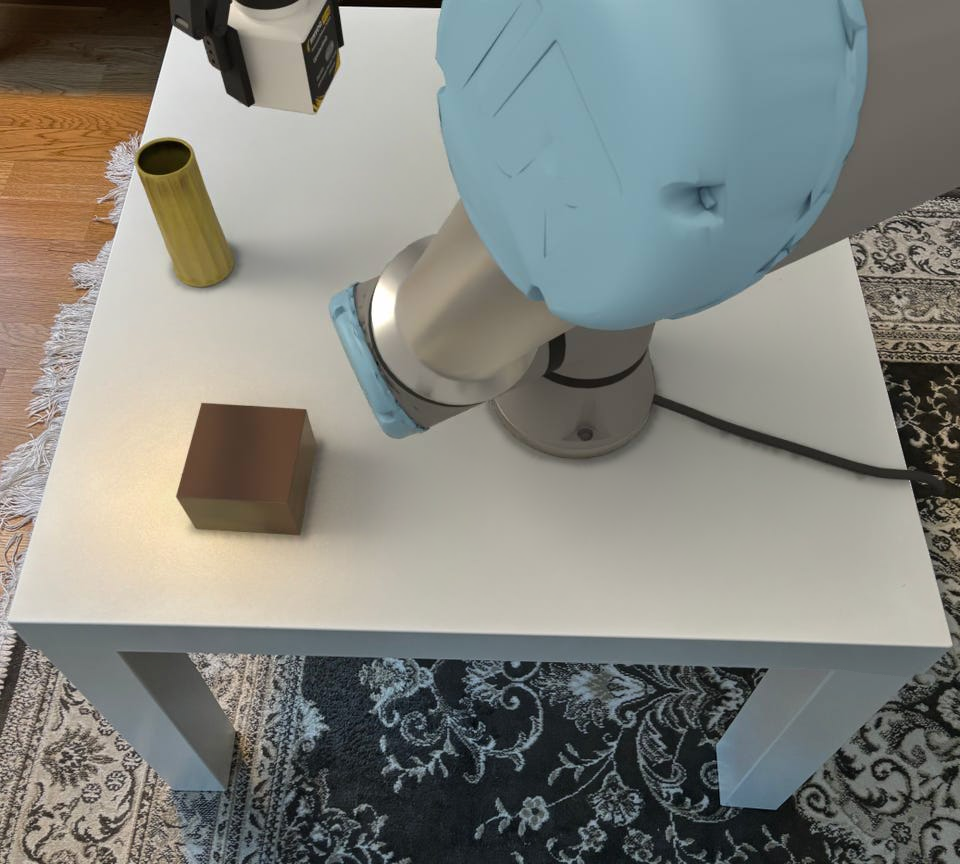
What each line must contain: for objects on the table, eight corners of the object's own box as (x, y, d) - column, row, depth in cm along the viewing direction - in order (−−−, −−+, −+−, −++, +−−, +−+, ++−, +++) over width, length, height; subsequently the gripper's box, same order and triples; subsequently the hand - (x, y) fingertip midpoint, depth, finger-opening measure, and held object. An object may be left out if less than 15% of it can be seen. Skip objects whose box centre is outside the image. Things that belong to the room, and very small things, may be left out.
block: (316, 444, 80) (306, 408, 75) (300, 535, 76) (287, 504, 70) (218, 438, 80) (201, 402, 75) (195, 528, 76) (175, 496, 71)
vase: (246, 266, 91) (212, 157, 79) (197, 298, 89) (153, 191, 77) (211, 234, 93) (173, 123, 81) (162, 264, 91) (115, 155, 79)
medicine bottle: (316, 117, 74) (291, -22, 64) (235, 104, 74) (197, -35, 64) (342, 64, 77) (322, -75, 67) (264, 53, 78) (233, -87, 68)
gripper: (309, -315, 61) (348, -7, 80) (36, -202, 52) (153, 114, 71) (387, -284, 59) (409, 26, 78) (114, -160, 50) (214, 156, 69)
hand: (286, 68), depth 75 cm, fingers closed on medicine bottle, 9 cm apart
